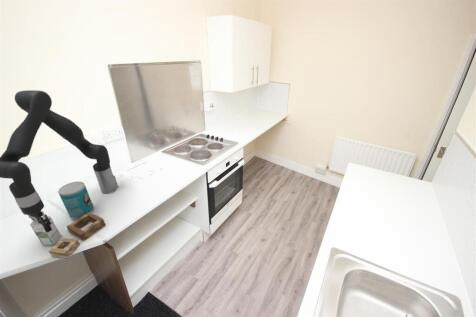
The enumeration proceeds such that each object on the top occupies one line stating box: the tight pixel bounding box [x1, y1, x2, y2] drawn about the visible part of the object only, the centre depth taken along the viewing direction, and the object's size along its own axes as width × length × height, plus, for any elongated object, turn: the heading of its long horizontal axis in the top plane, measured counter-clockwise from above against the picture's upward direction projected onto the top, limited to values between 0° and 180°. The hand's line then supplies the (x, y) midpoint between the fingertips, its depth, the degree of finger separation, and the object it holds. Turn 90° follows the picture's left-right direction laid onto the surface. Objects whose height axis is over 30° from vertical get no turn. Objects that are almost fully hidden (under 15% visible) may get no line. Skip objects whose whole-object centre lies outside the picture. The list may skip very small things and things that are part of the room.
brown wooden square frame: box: [66, 212, 106, 242], centre depth 115 cm, size 12×12×4 cm
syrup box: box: [29, 215, 63, 246], centre depth 105 cm, size 6×6×14 cm
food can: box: [57, 181, 95, 221], centre depth 122 cm, size 12×12×18 cm
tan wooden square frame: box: [48, 237, 81, 259], centre depth 103 cm, size 8×8×4 cm
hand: (44, 228), depth 104 cm, fingers open, 8 cm apart
